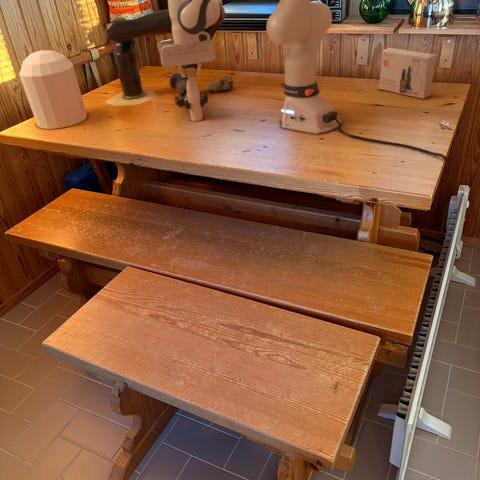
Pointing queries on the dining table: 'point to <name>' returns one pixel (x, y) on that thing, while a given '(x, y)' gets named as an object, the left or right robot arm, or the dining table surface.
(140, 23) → the left robot arm
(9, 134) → the dining table surface
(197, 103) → the bottle
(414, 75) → the skincare box
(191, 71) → the cap
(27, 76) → the container
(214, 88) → the rock
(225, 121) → the dining table surface
